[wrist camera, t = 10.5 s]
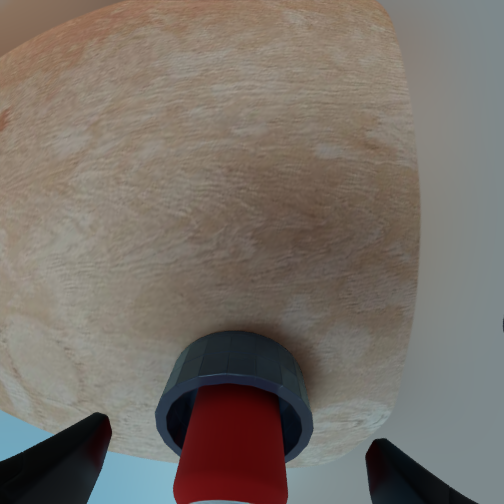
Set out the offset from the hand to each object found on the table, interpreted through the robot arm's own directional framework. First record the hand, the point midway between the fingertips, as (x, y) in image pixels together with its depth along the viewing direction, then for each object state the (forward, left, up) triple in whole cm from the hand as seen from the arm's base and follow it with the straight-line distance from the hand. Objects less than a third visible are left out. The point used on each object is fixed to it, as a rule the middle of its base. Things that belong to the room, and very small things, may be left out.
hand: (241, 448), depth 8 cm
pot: (0, +8, -13) cm, 15 cm away
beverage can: (0, +8, -13) cm, 15 cm away
